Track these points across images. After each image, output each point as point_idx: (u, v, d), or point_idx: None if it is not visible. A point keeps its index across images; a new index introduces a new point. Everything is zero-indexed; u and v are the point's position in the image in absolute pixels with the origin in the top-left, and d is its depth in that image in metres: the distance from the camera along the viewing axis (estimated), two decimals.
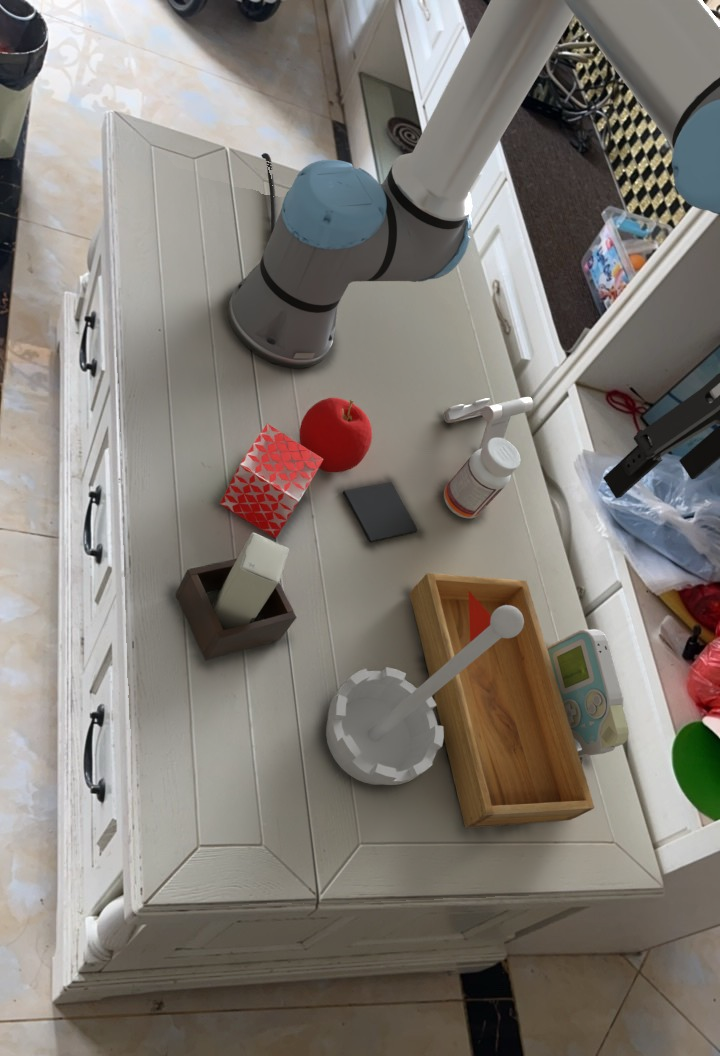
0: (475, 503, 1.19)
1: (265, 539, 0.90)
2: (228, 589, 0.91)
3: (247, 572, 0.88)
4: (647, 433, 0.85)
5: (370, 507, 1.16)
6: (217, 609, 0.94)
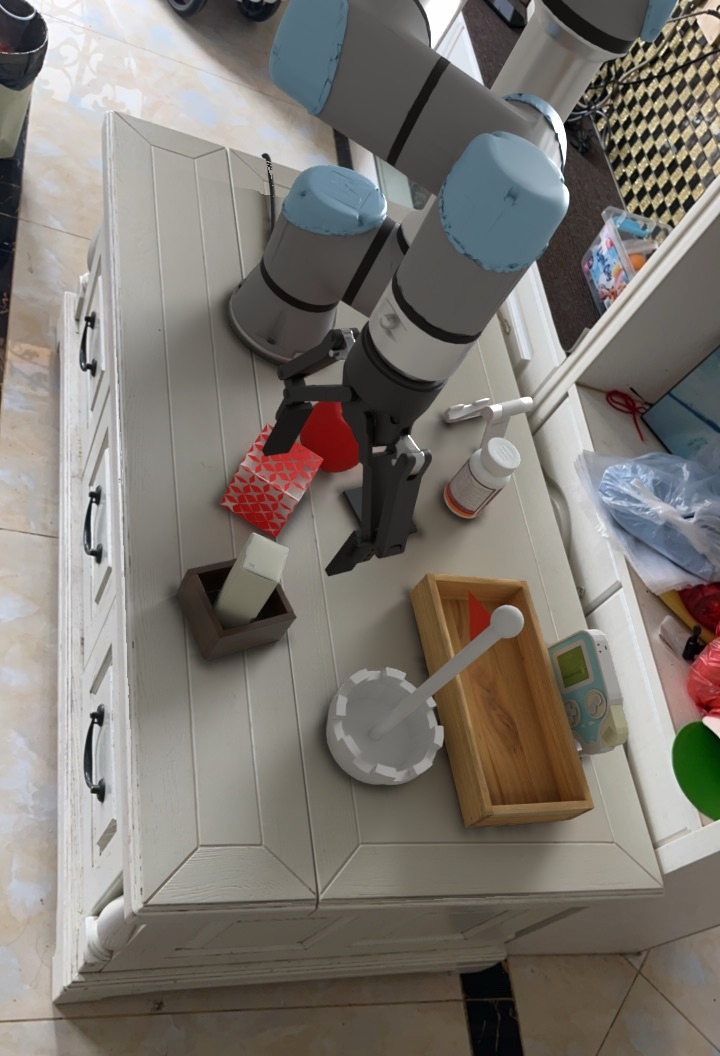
0: (475, 503, 1.19)
1: (265, 539, 0.90)
2: (228, 589, 0.91)
3: (248, 572, 0.88)
4: None
5: None
6: (217, 609, 0.94)
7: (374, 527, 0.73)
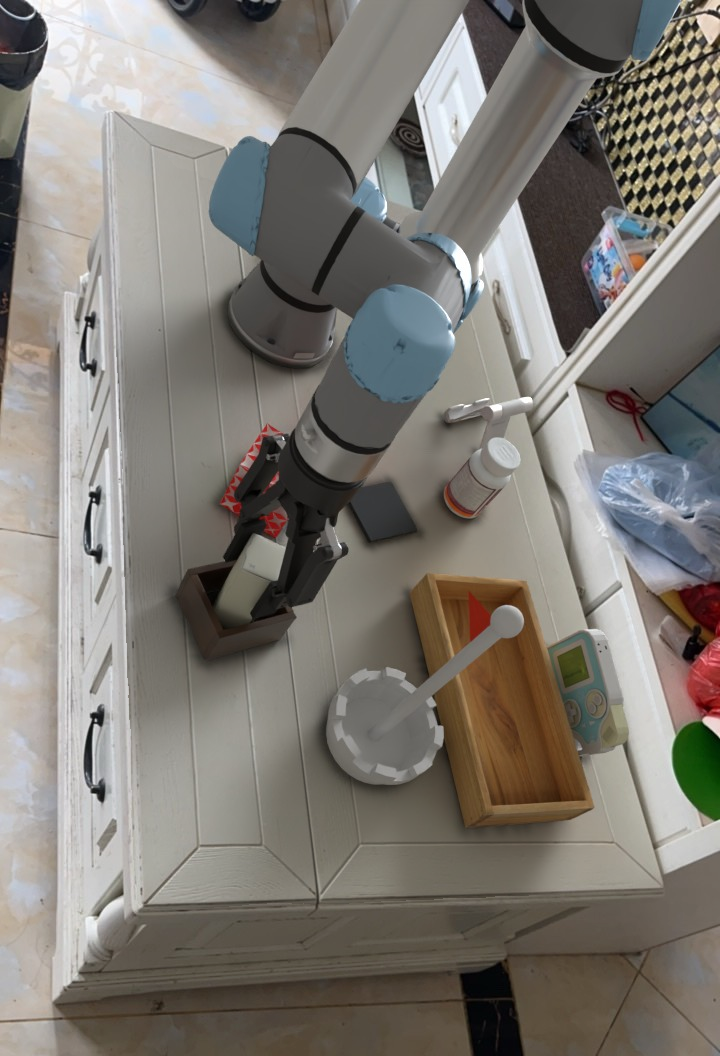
0: (475, 503, 1.19)
1: (266, 540, 0.90)
2: (228, 590, 0.91)
3: (248, 573, 0.88)
4: None
5: (370, 507, 1.16)
6: (217, 609, 0.94)
7: None
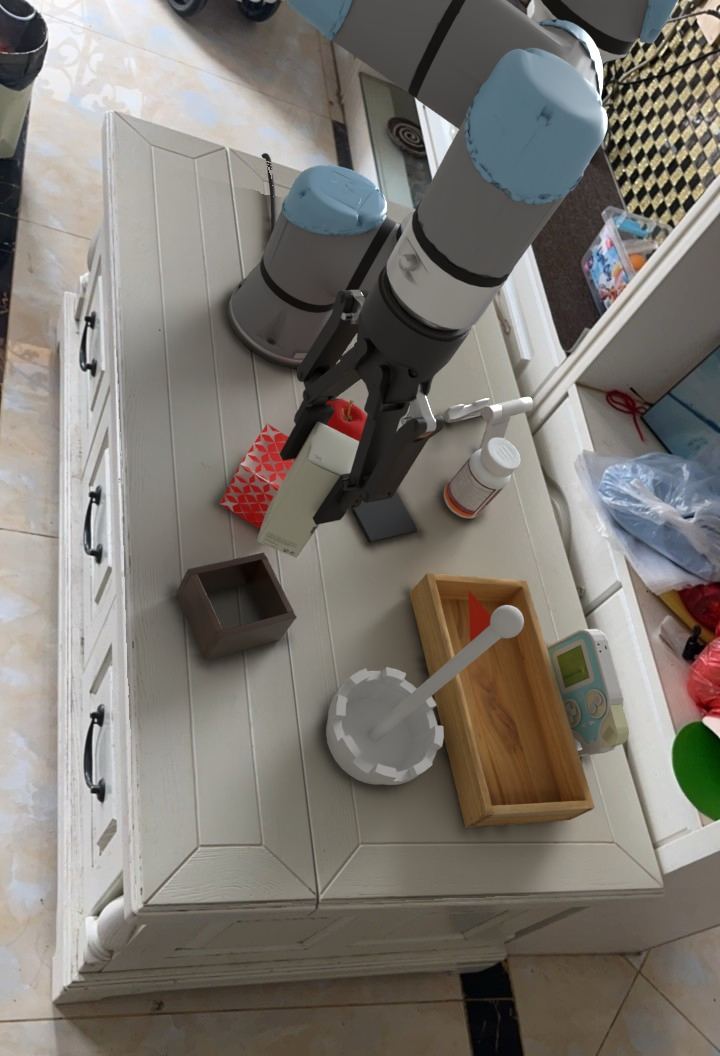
0: (475, 503, 1.19)
1: (332, 430, 0.76)
2: (288, 489, 0.77)
3: (314, 465, 0.74)
4: None
5: (370, 507, 1.16)
6: (273, 516, 0.80)
7: None
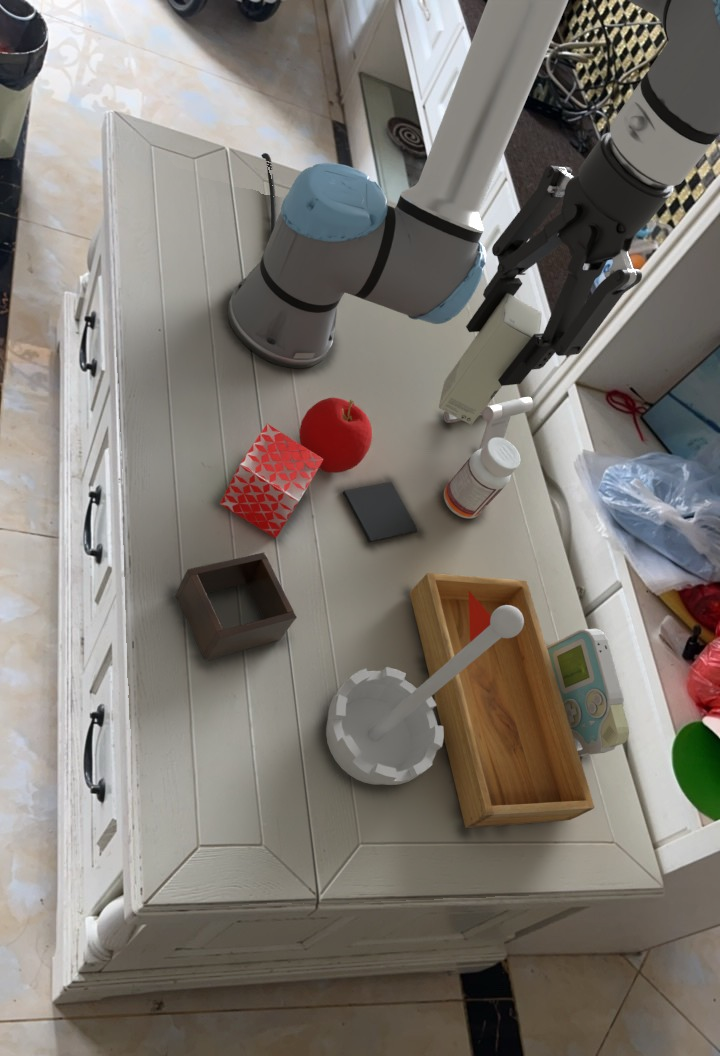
0: (475, 503, 1.19)
1: (519, 300, 0.88)
2: (480, 352, 0.88)
3: (509, 327, 0.85)
4: None
5: (370, 507, 1.16)
6: (459, 381, 0.91)
7: None
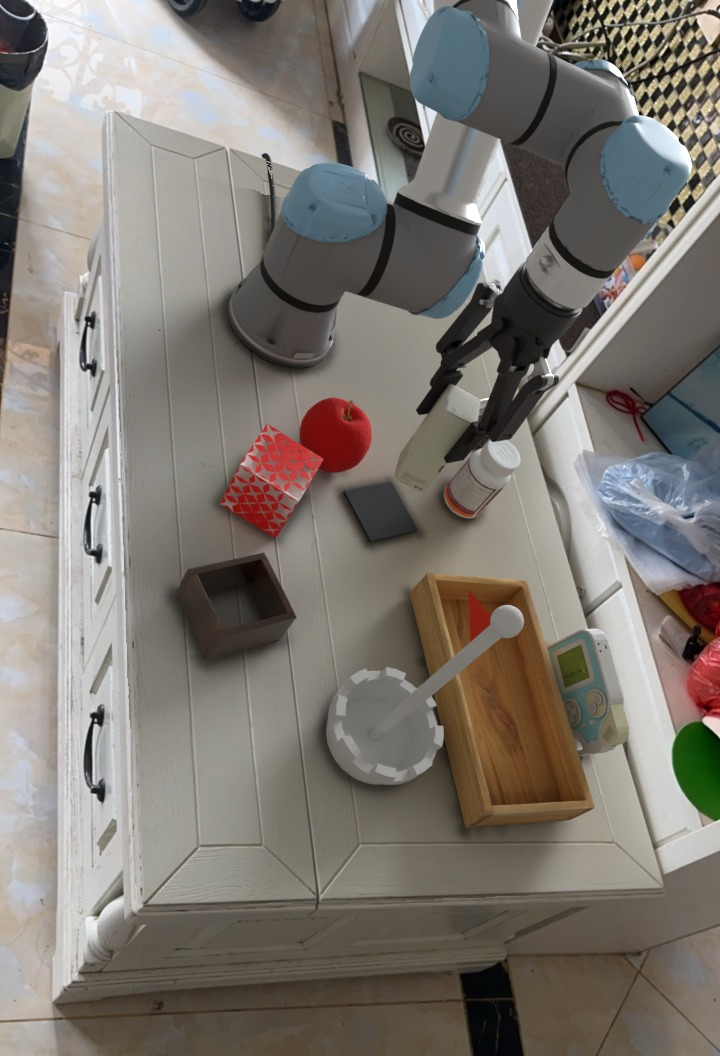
0: (475, 503, 1.19)
1: (461, 389, 1.00)
2: (427, 435, 1.01)
3: (450, 415, 0.98)
4: None
5: (370, 507, 1.16)
6: (411, 457, 1.04)
7: None
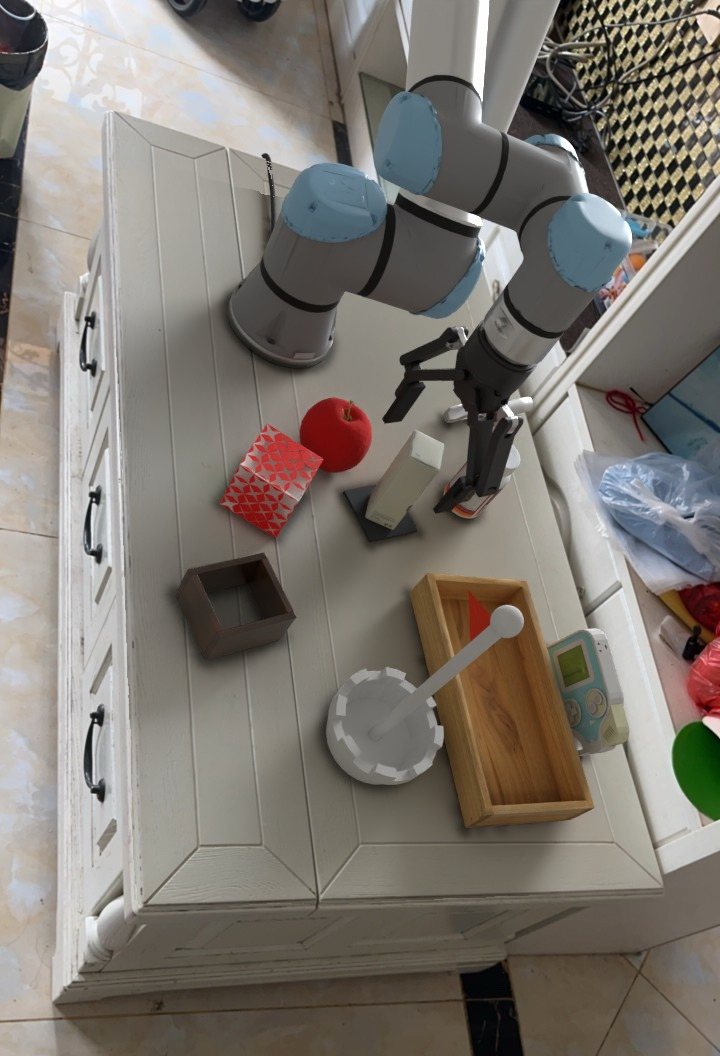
0: (475, 503, 1.19)
1: (425, 435, 1.07)
2: (394, 478, 1.07)
3: (415, 460, 1.04)
4: None
5: None
6: (380, 498, 1.11)
7: (476, 474, 0.99)
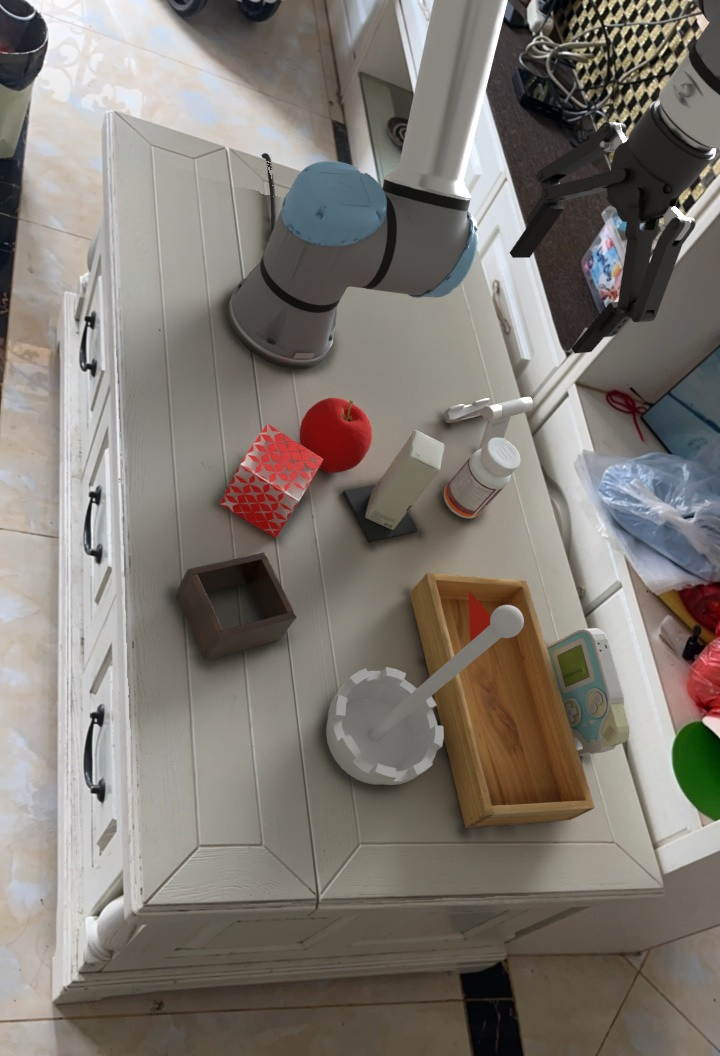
0: (475, 503, 1.19)
1: (425, 435, 1.07)
2: (394, 478, 1.07)
3: (415, 460, 1.04)
4: None
5: None
6: (380, 498, 1.11)
7: (631, 296, 0.87)
